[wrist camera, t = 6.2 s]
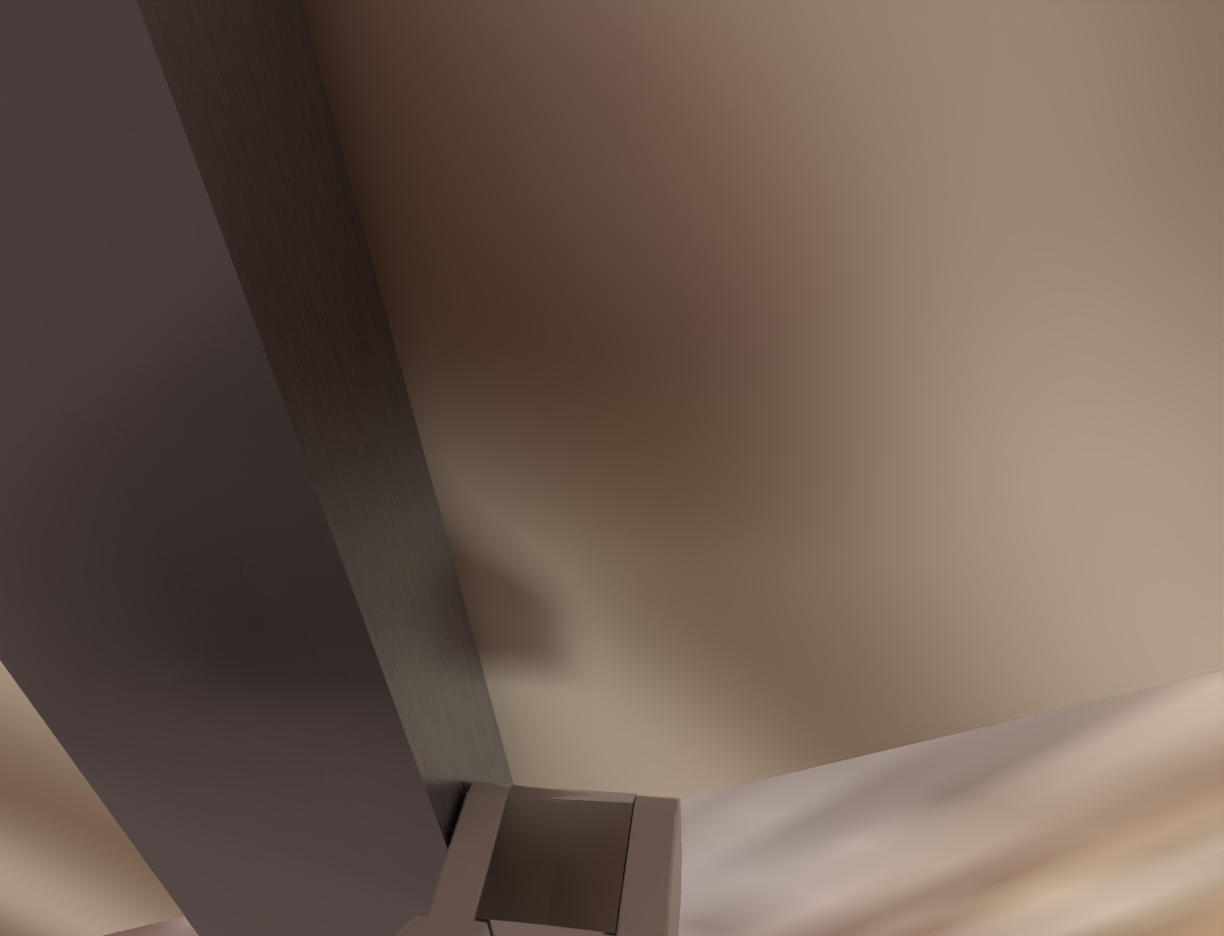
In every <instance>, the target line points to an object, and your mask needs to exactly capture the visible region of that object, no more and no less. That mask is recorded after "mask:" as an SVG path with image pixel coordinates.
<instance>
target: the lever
mask: <svg viewBox="0 0 1224 936" xmlns="http://www.w3.org/2000/svg"><path fill="white" fill-rule="evenodd" d="M0 661H1V662H2V664H3V665H4V667H5V668H6V669H7V671H8V672H9V673H10V675H11V676H12V678H13V679H14V680H15V682H16V683H17V685H18V686H19V687H20V689H21V690H22V691H23V693H24V694H25V696H26V697H27V698H28V700H29V701H30V703H31V704H32V705H33V707H34V708H35V709H36V711H37V712H38V714H39V715H40V716H41V718H42V719H43V720H44V722H45V723H46V725H47V726H48V727H49V729H50V730H51V732H52V733H53V734H54V736H55V737H56V738H57V740H58V741H59V743H60V744H61V745H62V747H63V748H64V750H65V751H66V752H67V754H68V755H69V756H70V758H71V759H72V761H73V762H74V763H75V765H76V766H77V768H78V769H79V770H80V772H81V773H82V774H83V776H84V777H85V779H86V780H87V781H88V783H89V784H90V786H91V787H92V788H93V790H94V791H95V792H96V794H97V795H98V797H99V798H100V799H101V801H102V802H103V803H104V805H105V806H106V808H107V809H108V810H109V812H110V813H111V815H112V816H113V817H114V819H115V820H116V821H117V823H118V824H119V826H120V827H121V828H122V830H123V831H124V833H125V834H126V835H127V837H128V838H129V839H130V841H131V842H132V844H133V845H134V846H135V848H136V849H137V851H138V852H139V853H140V855H141V856H142V857H143V859H144V860H145V862H146V863H147V864H148V866H149V867H150V869H151V870H152V871H153V873H154V874H155V875H156V877H157V878H158V880H159V881H160V882H161V884H162V885H163V886H164V888H165V889H166V891H167V892H168V893H169V895H170V896H171V898H172V899H173V900H174V902H175V903H176V904H177V906H178V907H179V909H180V910H181V911H182V913H183V914H184V916H185V917H186V918H187V920H188V921H189V922H190V924H191V925H192V927H193V928H194V929H195V931H196V932H197V934H198V935H199V936H393V935H394V934H395V933H396V932H397V931H398V930H399V929H400V928H401V927H402V926H403V925H404V924H405V923H406V922H407V921H408V920H409V919H410V918H411V917H412V916H413V915H414V914H425V915H427V913H428V910H429V907H430V904H431V901H432V898H433V895H434V892H435V888H436V885H437V882H438V879H439V876H440V873H441V870H442V867H443V864H444V860H445V857H446V854H447V851H448V848H449V845H450V842H451V839H452V836H453V832H454V829H455V826H456V823H457V820H458V817H459V814H460V811H461V808H462V805H463V801H464V798H465V795H466V794H467V792H468V790H469V789H470V787H471V785H472V784H473V782H474V781H478V782H491V783H504V784H514V783H513V780H512V776H511V772H510V769H509V765H508V761H507V758H506V754H505V750H504V747H503V743H502V739H501V735H500V732H499V728H498V724H497V721H496V717H495V713H494V710H493V706H492V702H491V698H490V695H489V691H488V687H487V684H486V680H485V676H484V673H483V669H482V665H481V662H480V658H479V654H478V650H477V647H476V643H475V639H474V636H473V632H472V628H471V625H470V621H469V617H468V613H467V610H466V606H465V602H464V599H463V595H462V591H461V588H460V584H459V580H458V577H457V573H456V569H455V565H454V562H453V558H452V554H451V551H450V547H449V543H448V540H447V536H446V532H445V528H444V525H443V521H442V517H441V514H440V510H439V506H438V503H437V499H436V495H435V491H434V488H433V484H432V480H431V477H430V473H429V469H428V466H427V462H426V458H425V455H424V451H423V447H422V443H421V440H420V436H419V432H418V429H417V425H416V421H415V418H414V414H413V410H412V406H411V403H410V399H409V395H408V392H407V388H406V384H405V381H404V377H403V373H402V370H401V366H400V362H399V358H398V355H397V351H396V347H395V344H394V340H393V336H392V333H391V329H390V325H389V321H388V318H387V314H386V310H385V307H384V303H383V299H382V296H381V292H380V288H379V284H378V281H377V277H376V273H375V270H374V266H373V262H372V259H371V255H370V251H369V248H368V244H367V240H366V236H365V233H364V229H363V225H362V222H361V218H360V214H359V211H358V207H357V203H356V199H355V196H354V192H353V188H352V185H351V181H350V177H349V174H348V170H347V166H346V163H345V159H344V155H343V151H342V148H341V144H340V140H339V137H338V133H337V129H336V126H335V122H334V118H333V114H332V111H331V107H330V103H329V100H328V96H327V92H326V89H325V85H324V81H323V78H322V74H321V70H320V66H319V63H318V59H317V55H316V52H315V48H314V44H313V41H312V37H311V33H310V29H309V26H308V22H307V18H306V15H305V11H304V7H303V4H302V0H0Z"/></svg>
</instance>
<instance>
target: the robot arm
mask: <svg viewBox="0 0 1224 936" xmlns="http://www.w3.org/2000/svg"><path fill="white" fill-rule="evenodd" d="M681 864H682V843H681V807H680V798H675V797H661V796H646V795H638V796H637V794H635V793H620V792H605V791H590V790H574V789H559V788H556V789H552V788H541V787H530V786H519V785H515V784H504V783H491V782H478V781H474V782H473V784H472V785H471V787H470V789H469V790H468V792H467V794H466V795H465V798H464V801H463V805H462V808H461V811H460V814H459V817H458V820H457V823H456V826H455V829H454V832H453V836H452V839H451V842H450V845H449V848H448V851H447V854H446V857H445V860H444V864H443V867H442V870H441V873H440V876H439V879H438V882H437V885H436V888H435V892H434V895H433V898H432V901H431V904H430V907H429V910H428V913H427V915H425V914H414V915H413V916H412V917H411V918H410V919H409V920H408V921H407V922H406V923H405V924H404V925H403V926H402V927H401V928H400V929H399V930H398V931H397V932H396V933H395V934H394V935H393V936H678V930H679V916H680V903H681Z"/></svg>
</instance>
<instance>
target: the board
mask: <svg viewBox="0 0 1224 936" xmlns="http://www.w3.org/2000/svg"><path fill="white" fill-rule="evenodd" d="M302 4H303V7H304V11H305V15H306V18H307V22H308V26H309V29H310V33H311V37H312V41H313V44H314V48H315V52H316V55H317V59H318V63H319V66H320V70H321V74H322V78H323V81H324V85H325V89H326V92H327V96H328V100H329V103H330V107H331V111H332V114H333V118H334V122H335V126H336V129H337V133H338V137H339V140H340V144H341V148H342V151H343V155H344V159H345V163H346V166H347V170H348V174H349V177H350V181H351V185H352V188H353V192H354V196H355V199H356V203H357V207H358V211H359V214H360V218H361V222H362V225H363V229H364V233H365V236H366V240H367V244H368V248H369V251H370V255H371V259H372V262H373V266H374V270H375V273H376V277H377V281H378V284H379V288H380V292H381V296H382V299H383V303H384V307H385V310H386V314H387V318H388V321H389V325H390V329H391V333H392V336H393V340H394V344H395V347H396V351H397V355H398V358H399V362H400V366H401V370H402V373H403V377H404V381H405V384H406V388H407V392H408V395H409V399H410V403H411V406H412V410H413V414H414V418H415V421H416V425H417V429H418V432H419V436H420V440H421V443H422V447H423V451H424V455H425V458H426V462H427V466H428V469H429V473H430V477H431V480H432V484H433V488H434V491H435V495H436V499H437V503H438V506H439V510H440V514H441V517H442V521H443V525H444V528H445V532H446V536H447V540H448V543H449V547H450V551H451V554H452V558H453V562H454V565H455V569H456V573H457V577H458V580H459V584H460V588H461V591H462V595H463V599H464V602H465V606H466V610H467V613H468V617H469V621H470V625H471V628H472V632H473V636H474V639H475V643H476V647H477V650H478V654H479V658H480V662H481V665H482V669H483V673H484V676H485V680H486V684H487V687H488V691H489V695H490V698H491V702H492V706H493V710H494V713H495V717H496V721H497V724H498V728H499V732H500V735H501V739H502V743H503V747H504V750H505V754H506V758H507V761H508V765H509V769H510V772H511V776H512V780H513V783H514V784H515V785H519V786H530V787H541V788H552V789H556V788H559V789H574V790H590V791H605V792H620V793H635V794H637V796H638V795H646V796H661V797H675V798H680V799H681V798H686V797H690V796H694V795H698V794H703V793H707V792H711V791H715V790H719V789H724V788H728V787H732V786H736V785H741V784H745V783H749V782H753V781H757V780H762V779H766V778H770V777H774V776H779V775H783V774H787V773H791V772H795V771H800V770H804V769H808V768H812V767H817V766H821V765H825V764H829V763H833V762H838V761H842V760H846V759H850V758H855V757H859V756H863V755H867V754H871V753H876V752H880V751H884V750H888V749H893V748H897V747H901V746H905V745H909V744H914V743H918V742H922V741H926V740H931V739H935V738H939V737H943V736H947V735H952V734H956V733H960V732H964V731H969V730H973V729H977V728H981V727H986V726H990V725H994V724H998V723H1002V722H1007V721H1011V720H1015V719H1019V718H1024V717H1028V716H1032V715H1036V714H1040V713H1045V712H1049V711H1053V710H1057V709H1062V708H1066V707H1070V706H1074V705H1078V704H1083V703H1087V702H1091V701H1095V700H1100V699H1104V698H1108V697H1112V696H1116V695H1121V694H1125V693H1129V692H1133V691H1138V690H1142V689H1146V688H1150V687H1154V686H1159V685H1163V684H1167V683H1171V682H1176V681H1180V680H1184V679H1188V678H1192V677H1197V676H1201V675H1205V674H1209V673H1214V672H1218V671H1222V670H1224V0H302ZM183 916H184V914H183V913H182V911H181V910H180V909H179V907H178V906H177V904H176V903H175V902H174V900H173V899H172V898H171V896H170V895H169V893H168V892H167V891H166V889H165V888H164V886H163V885H162V884H161V882H160V881H159V880H158V878H157V877H156V875H155V874H154V873H153V871H152V870H151V869H150V867H149V866H148V864H147V863H146V862H145V860H144V859H143V857H142V856H141V855H140V853H139V852H138V851H137V849H136V848H135V846H134V845H133V844H132V842H131V841H130V839H129V838H128V837H127V835H126V834H125V833H124V831H123V830H122V828H121V827H120V826H119V824H118V823H117V821H116V820H115V819H114V817H113V816H112V815H111V813H110V812H109V810H108V809H107V808H106V806H105V805H104V803H103V802H102V801H101V799H100V798H99V797H98V795H97V794H96V792H95V791H94V790H93V788H92V787H91V786H90V784H89V783H88V781H87V780H86V779H85V777H84V776H83V774H82V773H81V772H80V770H79V769H78V768H77V766H76V765H75V763H74V762H73V761H72V759H71V758H70V756H69V755H68V754H67V752H66V751H65V750H64V748H63V747H62V745H61V744H60V743H59V741H58V740H57V738H56V737H55V736H54V734H53V733H52V732H51V730H50V729H49V727H48V726H47V725H46V723H45V722H44V720H43V719H42V718H41V716H40V715H39V714H38V712H37V711H36V709H35V708H34V707H33V705H32V704H31V703H30V701H29V700H28V698H27V697H26V696H25V694H24V693H23V691H22V690H21V689H20V687H19V686H18V685H17V683H16V682H15V680H14V679H13V678H12V676H11V675H10V673H9V672H8V671H7V669H6V668H5V667H4V665H3V664H2V662H1V661H0V936H103V935H107V934H111V933H115V932H120V931H124V930H128V929H132V928H137V927H141V926H145V925H149V924H153V923H158V922H162V921H166V920H170V919H175V918H179V917H183Z"/></svg>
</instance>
